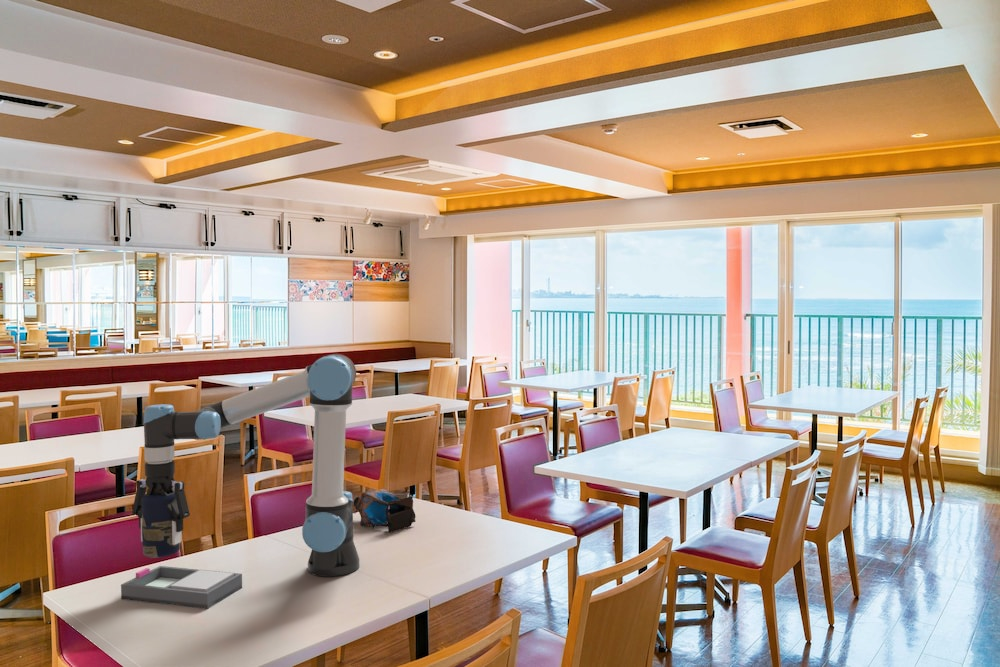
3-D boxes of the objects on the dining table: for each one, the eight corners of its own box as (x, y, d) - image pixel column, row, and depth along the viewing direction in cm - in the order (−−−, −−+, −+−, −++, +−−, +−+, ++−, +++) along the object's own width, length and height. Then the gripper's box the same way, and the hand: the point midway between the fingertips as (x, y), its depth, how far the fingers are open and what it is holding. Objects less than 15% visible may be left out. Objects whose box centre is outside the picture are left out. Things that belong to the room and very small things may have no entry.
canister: (165, 561, 198) (164, 494, 198) (134, 559, 200) (133, 493, 200) (187, 549, 208) (186, 486, 207) (157, 547, 210) (156, 485, 209)
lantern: (404, 547, 260) (356, 531, 275) (426, 506, 268) (377, 493, 283) (380, 526, 250) (331, 510, 265) (403, 484, 258) (354, 471, 272)
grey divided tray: (242, 587, 206) (241, 569, 206) (207, 608, 192) (207, 589, 192) (160, 579, 213) (159, 561, 213) (121, 599, 199) (120, 580, 199)
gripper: (203, 460, 204) (204, 540, 205) (136, 456, 210) (137, 534, 210) (185, 465, 197) (186, 549, 197) (116, 461, 202) (117, 542, 203)
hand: (161, 541), depth 204 cm, fingers closed on canister, 9 cm apart
